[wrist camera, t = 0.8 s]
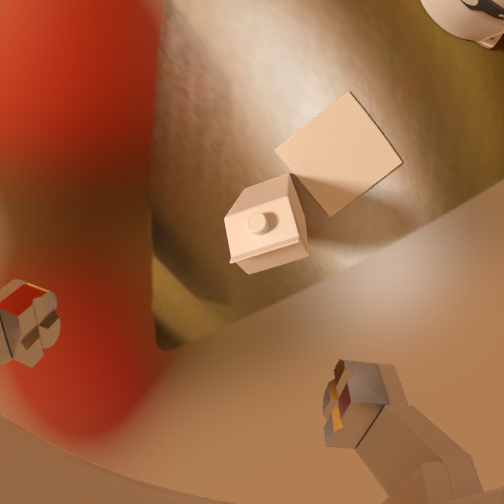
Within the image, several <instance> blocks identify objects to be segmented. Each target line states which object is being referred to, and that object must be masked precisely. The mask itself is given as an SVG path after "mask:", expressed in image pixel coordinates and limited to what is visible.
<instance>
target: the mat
mask: <svg viewBox="0 0 504 504" xmlns="http://www.w3.org/2000/svg"><path fill="white" fill-rule="evenodd" d="M274 151H275V152H276V153H277V155H278V156H279V157H280V158H281V159H282V160H283V161H284V163H285V164H286V165H287V166H288V167H289V168H290V170H291V171H292V172H293V173H294V174H295V175H296V177H297V178H298V179H299V180H300V181H301V183H302V184H303V185H304V186H305V187H306V189H307V190H308V191H309V192H310V193H311V195H312V196H313V197H314V198H315V199H316V201H317V202H318V203H319V204H320V206H321V207H322V208H323V209H324V211H325V212H326V213H327V214H328V215H329V217H330V218H331V217H332V216H333V215H335V214H336V213H337V212H339V211H340V210H341V209H343V208H344V207H345V206H347V205H348V204H349V203H350V202H352V201H353V200H354V199H356V198H357V197H358V196H360V195H361V194H362V193H363V192H365V191H366V190H367V189H369V188H370V187H371V186H373V185H374V184H375V183H376V182H378V181H379V180H380V179H382V178H383V177H384V176H385V175H387V174H388V173H389V172H391V171H392V170H393V169H394V168H396V167H397V166H398V165H400V164H401V163H402V161H401V160H400V158H399V157H398V156H397V154H396V153H395V151H394V150H393V148H392V147H391V146H390V144H389V143H388V141H387V140H386V139H385V137H384V136H383V134H382V133H381V132H380V130H379V129H378V128H377V126H376V125H375V124H374V122H373V121H372V120H371V119H370V117H369V116H368V115H367V113H366V112H365V111H364V110H363V108H362V107H361V106H360V105H359V103H358V102H357V101H356V100H355V98H354V97H353V96H352V95H351V94H350V92H349V91H348V92H347V93H345V94H344V95H343V96H341V97H340V98H339V99H337V100H336V101H335V102H334V103H332V104H331V105H330V106H328V107H327V108H326V109H325V110H323V111H322V112H321V113H319V114H318V115H317V116H316V117H314V118H313V119H312V120H311V121H309V122H308V123H307V124H306V125H304V126H303V127H302V128H301V129H299V130H298V131H297V132H296V133H295V134H293V135H292V136H291V137H290V138H288V139H287V140H286V141H285V142H284V143H282V144H281V145H280V146H279V147H277V148H276V149H275V150H274Z"/></svg>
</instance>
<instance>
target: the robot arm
mask: <svg viewBox="0 0 504 504" xmlns="http://www.w3.org/2000/svg"><path fill="white" fill-rule="evenodd" d="M421 2H422V4H423V6H424V8H425V9H426V11H427V12H428V14H429V15H430V16H431V17H432V19H433V20H434V21H435V22H436V23H437V24H438V25H439V26H441V27H442V28H443V29H444V30H446V31H447V32H449V33H451V34H452V35H454V36H456V37H459V38H462V39H466V40H472V41H475V42H477V43H478V44H480V45H482V46H483V47H485V48H487V49H490V48H492V47H494V46H495V44H496V43H497V42H498V40H499V39H500V37H501V36H502V35H503V33H504V0H421ZM490 38H491V39H492V40H491V39H490ZM56 306H57V302H56V296H55V295H54V294H53V293H52V292H50V291H48V290H45V289H43V288H40V287H37V286H35V285H32V284H29V283H27V282H24V281H21V280H13V281H11V282H10V283H9V284H7V285H6V286H4V287H3V288H2V289H0V365H2V364H4V363H7V362H9V361H11V360H12V359H14V360H17V361H19V362H21V363H23V364H25V365H27V366H29V367H33V366H34V365H35V364H36V363H37V362H38V361H39V360H40V359H41V357H42V356H43V355H44V349H45V348H48V347H51V346H52V345H53V344H54V343H55V342H56V340H57V338H58V335H59V333H60V319H59V317H58V315H57V313H56V312H55V308H56ZM334 375H335V379H333V380H332V381H330V382H329V383H328V385H327V388H326V390H325V394H324V398H323V407H322V408H323V415H324V416H325V417H326V418H327V422H326V424H325V426H324V435H325V446H327V447H338V448H352V449H355V451H356V452H357V454H358V455H359V456H360V458H361V459H362V461H363V462H364V463H365V465H366V466H367V467H368V469H369V470H370V471H371V473H372V474H373V475H374V477H375V478H376V480H377V481H378V482H379V484H380V485H381V486H382V488H383V489H384V490H385V491H386V493H387V494H388V495H389V497H388V498H387V499H386V500H385V501H383V502H382V503H381V504H504V486H503V487H500V488H496V489H493V490H489V491H486V492H483V489H482V486H481V483H480V480H479V477H478V474H477V471H476V469H475V466H474V463H473V460H472V458H471V455H470V454H468V453H467V452H466V451H465V450H464V449H463V448H461V447H460V446H459V445H458V444H457V443H456V442H454V441H453V440H452V439H451V438H450V437H449V436H447V435H446V434H445V433H444V432H443V431H442V430H440V429H439V428H438V427H437V426H436V425H434V423H432V422H431V421H430V420H429V419H428V418H427V417H425V416H424V415H423V414H422V413H421V412H420V411H419V410H417V409H416V408H415V407H414V406H408V403H407V400H406V397H405V394H404V391H403V388H402V386H401V383H400V380H399V377H398V375H397V372H396V369H395V367H394V366H393V365H392V364H384V363H366V362H359V361H349V360H342V359H340V360H339V361H338V363H337V364H336V367H335V369H334ZM0 504H236V503H230V502H225V501H219V500H214V499H209V498H204V497H200V496H195V495H191V494H187V493H183V492H179V491H175V490H171V489H168V488H164V487H161V486H157V485H154V484H151V483H147V482H144V481H141V480H138V479H135V478H132V477H129V476H126V475H124V474H121V473H118V472H115V471H113V470H110V469H107V468H104V467H102V466H100V465H97V464H95V463H93V462H90V461H88V460H86V459H83V458H81V457H79V456H77V455H74V454H72V453H70V452H68V451H66V450H64V449H62V448H60V447H57V446H55V445H53V444H52V443H50V442H48V441H46V440H44V439H42V438H40V437H38V436H36V435H34V434H33V433H31V432H29V431H27V430H26V429H24V428H22V427H20V426H19V425H17V424H15V423H14V422H12V421H10V420H9V419H7V418H6V417H4V416H2V415H1V414H0Z"/></svg>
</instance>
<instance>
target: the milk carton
mask: <svg viewBox="0 0 504 504" xmlns="http://www.w3.org/2000/svg"><path fill="white" fill-rule="evenodd" d="M224 221H225V226H226V232H227V237H228V242H229V248H230V253H231V260H230V263H234V262H236V263H237V264H238V265H239V266H240V267H241V268H242V269H243V270H244V271H245V272H246V273H247V274H252V273H256V272H259V271H262V270H266V269H269V268H272V267H276V266H279V265H282V264H286V263H289V262H292V261H296V260H299V259H302V258H305V257H308V256H309V252H308V241H307V231H306V221H305V215H304V212H303V209H302V206H301V204H300V201H299V198H298V195H297V192H296V190H295V187H294V184H293V181H292V179H291V176H290V174H289V173H287V174H284V175H281V176H278V177H275V178H272V179H269V180H267V181H264V182H261V183H258V184H255V185H253V186H250V187H247V188H245V189H244V190H243V192H242V193H241V195H240V196H239V198H238V199H237V200H236V202H235V203H234V205H233V206H232V208H231V209H230V211H229V212H228V214H227V215H226V217H225V218H224Z"/></svg>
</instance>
